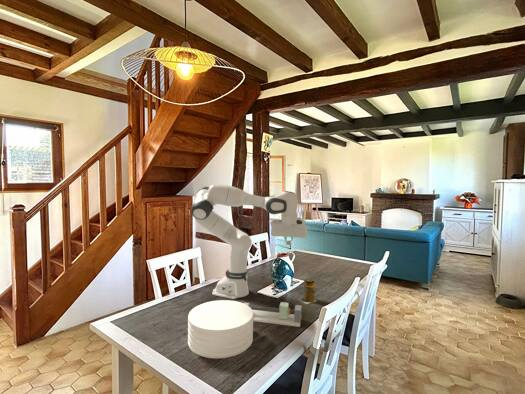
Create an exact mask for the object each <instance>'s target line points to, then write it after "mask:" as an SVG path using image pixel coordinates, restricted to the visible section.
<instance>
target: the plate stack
mask: <svg viewBox="0 0 525 394" xmlns="http://www.w3.org/2000/svg"><path fill="white" fill-rule="evenodd" d="M244 303H245V302H240V301H236V300H231V299H230V300H225V299H223V300H222V299H220V300H219V299H217V300H211V301H206V302H204V303H201V304H199V305H196V306H194V307H193V308H192V309H191V310H190V311H189V313H188V315H187V345H188V347H189V350H190V351H192V352H193V353H194V354H196V355H197V356H199V357H204V358H208V359H226V358H231V357H234V356H238V355H239V354H241V353H243V352H245V351H246V350H247V349H249V347H251V345H252V343H253V341H254V335H253V334H254V321H253V311H252V309H251V308H250V307H249V306H248V305H246V304H244Z"/></svg>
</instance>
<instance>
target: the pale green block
mask: <svg viewBox="0 0 525 394" xmlns="http://www.w3.org/2000/svg"><path fill="white" fill-rule="evenodd" d="M278 308H279V319H287V318H288V308H290V306H289V302H284V301H283V302H282V301H280V304H279V307H278Z"/></svg>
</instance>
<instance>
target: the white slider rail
mask: <svg viewBox="0 0 525 394" xmlns="http://www.w3.org/2000/svg"><path fill="white" fill-rule="evenodd" d="M243 303H244V304H246V305H248V306H249V307H250V308H251V309H252V311H253V322H258V323H265V324H275V325H282V326H289V327H291V326H292V327H298V328H300V327H301V324H302V305H301V304H300V305H299V304H295V305H294V309H291V308H290V307H289V308H288V318H287V319H279V307H278V308H277V307H271V306H270V307H269V306H260V305H252V304H250V302H243Z"/></svg>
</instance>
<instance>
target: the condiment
mask: <svg viewBox="0 0 525 394" xmlns="http://www.w3.org/2000/svg"><path fill="white" fill-rule="evenodd" d="M298 301H300V302H301V303H303V304H305V305H308V304H311V303H316V302H318V300H317V299H315V280H314V279H312V278H306V279H305V280H304V286H303V297H301V298H298Z"/></svg>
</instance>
